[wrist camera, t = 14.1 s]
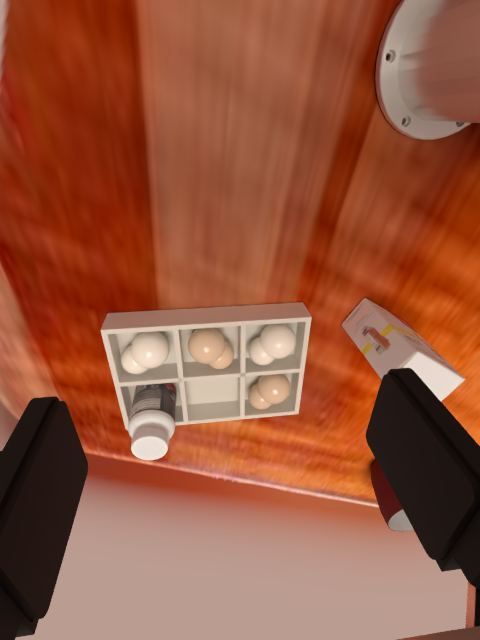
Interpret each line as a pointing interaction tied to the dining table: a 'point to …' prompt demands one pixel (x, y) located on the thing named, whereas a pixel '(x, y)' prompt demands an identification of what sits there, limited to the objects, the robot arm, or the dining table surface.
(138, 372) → the cream egg
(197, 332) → the brown egg
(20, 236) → the dining table surface
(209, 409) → the grey compartment tray
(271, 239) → the dining table surface
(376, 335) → the ink box
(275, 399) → the brown egg
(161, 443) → the pill bottle
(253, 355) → the cream egg
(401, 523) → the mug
